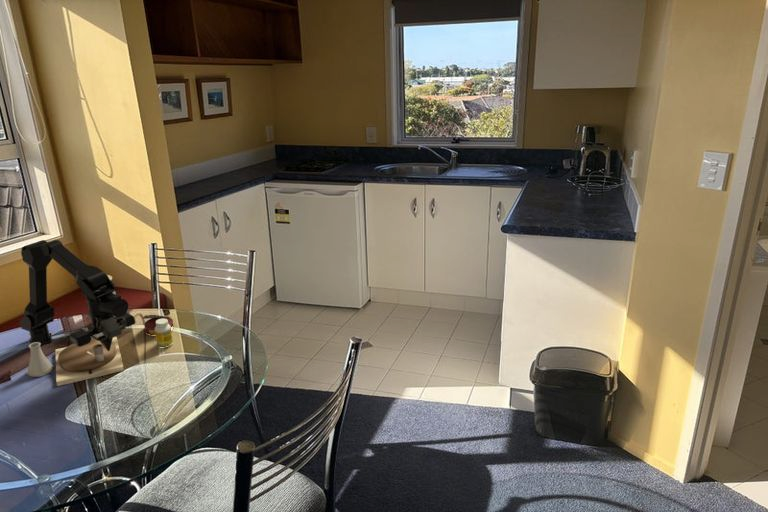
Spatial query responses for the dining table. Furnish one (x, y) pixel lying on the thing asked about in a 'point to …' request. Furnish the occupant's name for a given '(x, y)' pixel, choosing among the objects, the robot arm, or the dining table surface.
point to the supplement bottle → (163, 333)
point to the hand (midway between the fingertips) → (108, 350)
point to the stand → (71, 377)
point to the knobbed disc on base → (86, 356)
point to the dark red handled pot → (154, 323)
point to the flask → (38, 362)
